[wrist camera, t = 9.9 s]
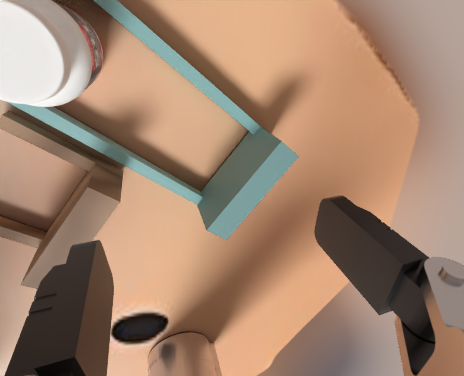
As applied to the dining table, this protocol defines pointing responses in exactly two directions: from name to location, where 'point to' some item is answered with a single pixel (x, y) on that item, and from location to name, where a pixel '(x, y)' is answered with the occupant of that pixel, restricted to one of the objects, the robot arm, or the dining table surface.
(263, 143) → the frame
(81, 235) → the walnut lane broken
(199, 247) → the dining table surface
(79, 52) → the pill bottle
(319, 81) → the dining table surface
